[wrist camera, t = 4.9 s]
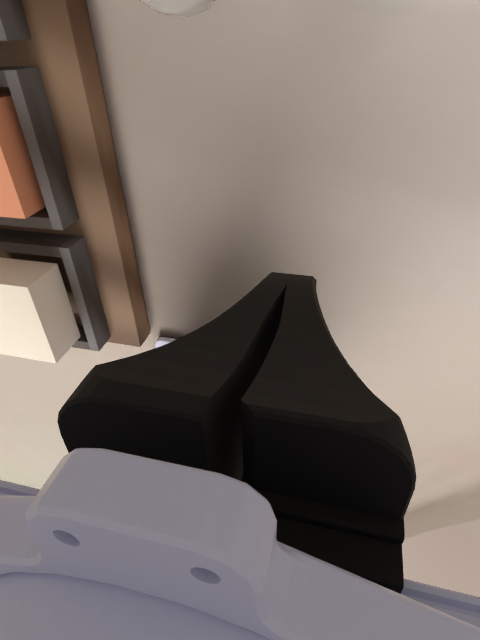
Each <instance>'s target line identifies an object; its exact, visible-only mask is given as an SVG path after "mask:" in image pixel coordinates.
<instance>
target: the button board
mask: <svg viewBox="0 0 480 640" xmlns="http://www.w3.org/2000/svg"><path fill="white" fill-rule="evenodd" d="M0 92H10V93H11V96H12V99H13V102H14V106H15V109H16V112H17V115H18V118H19V122H20V125H21V128H22V131H23V135H24V138H25V141H26V144H27V147H28V151H29V154H30V157H31V160H32V163H33V167H34V170H35V173H36V176H37V180H38V183H39V186H40V189H41V192H42V196H43V199H44V202H45V205H46V207H45V208H43V209H41V210H40V211H38V212H36V213H35V214H33V215H31V216H30V217H28V218H26V219H21V218H9V217H0V257H1V258H10V259H19V260H28V261H37V262H47V263H56V264H58V267H59V270H60V274H61V277H62V280H63V283H64V286H65V289H66V292H67V295H68V299H69V302H70V305H71V308H72V311H73V314H74V317H75V320H76V323H77V327H78V330H79V333H80V336H81V337H80V338H79V339H78V340H77V341H76V342H75V343H74V344H73V345H72V347H75V348H82V349H88V350H94V351H100V349H101V348H102V347H103V346H104V344H105V343H106V342H112V343H119V344H125V345H132V346H139V347H141V345H142V344H143V342H144V341H145V340H146V338H147V337H148V335H149V334H150V329H149V324H148V319H147V314H146V309H145V304H144V299H143V293H142V288H141V283H140V278H139V273H138V268H137V263H136V257H135V252H134V247H133V242H132V237H131V232H130V227H129V222H128V216H127V211H126V206H125V201H124V196H123V191H122V186H121V180H120V175H119V170H118V165H117V160H116V155H115V150H114V144H113V139H112V134H111V129H110V124H109V119H108V114H107V109H106V103H105V98H104V93H103V88H102V83H101V78H100V73H99V67H98V62H97V57H96V52H95V47H94V42H93V37H92V31H91V26H90V21H89V16H88V11H87V6H86V1H85V0H0Z"/></svg>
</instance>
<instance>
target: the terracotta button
mask: <svg viewBox="0 0 480 640" xmlns="http://www.w3.org/2000/svg"><path fill="white" fill-rule="evenodd" d="M45 207H46V205H45V202H44V199H43V196H42V192H41V189H40V186H39V183H38V180H37V176H36V173H35V170H34V167H33V163H32V160H31V157H30V154H29V151H28V147H27V144H26V141H25V138H24V135H23V131H22V128H21V125H20V122H19V118H18V115H17V112H16V109H15V106H14V102H13V99H12V96H11V93H10V92H0V217H9V218H21V219H26V218H28V217H30V216H31V215H33V214H35V213H36V212H38V211H40V210H41V209H43V208H45Z"/></svg>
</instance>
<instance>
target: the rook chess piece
mask: <svg viewBox="0 0 480 640" xmlns="http://www.w3.org/2000/svg"><path fill="white" fill-rule="evenodd" d="M140 1H142V2H143V3H145V4H146V5H148V6H149V7H151V8H152V9H154V10H155V11H157V12H159V13H165V14H167V15H174V16H182V17H189V16H192V15H194V14H196V13H199V12H201V11H204V10H206V9H208V7H209V6H210V5H211V4H212V3H213V2H214V1H215V0H140Z"/></svg>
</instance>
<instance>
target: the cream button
mask: <svg viewBox="0 0 480 640" xmlns="http://www.w3.org/2000/svg"><path fill="white" fill-rule="evenodd" d="M80 337H81V336H80V333H79V330H78V327H77V323H76V320H75V317H74V314H73V311H72V308H71V305H70V302H69V299H68V295H67V292H66V289H65V286H64V283H63V280H62V277H61V274H60V270H59V267H58V264H56V263H47V262H37V261H28V260H19V259H10V258H1V257H0V354H4V355H10V356H16V357H22V358H28V359H34V360H40V361H46V362H52V363H57V362H58V361H59V360H60V359H61V358H62V357H63V355H64V354H65V353H66V352H67V351H68V350H69V349H70V348H71V347H72V345H73V344H74V343H75V342H76V341H77V340H78V339H79V338H80Z"/></svg>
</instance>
